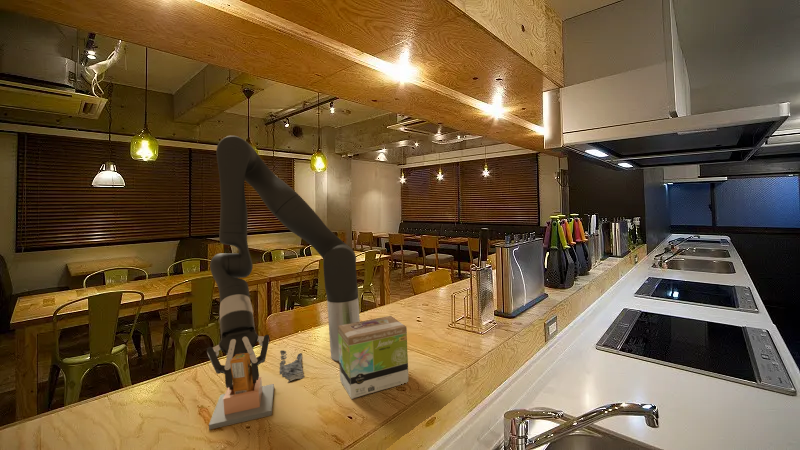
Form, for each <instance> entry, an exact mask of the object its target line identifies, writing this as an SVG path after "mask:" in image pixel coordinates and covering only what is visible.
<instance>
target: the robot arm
mask: <svg viewBox="0 0 800 450" xmlns="http://www.w3.org/2000/svg"><path fill="white" fill-rule="evenodd" d="M216 161H217V168H218V176H219V187H220V190H219V191H220V192H219V193H220V215H219V237H218V238H219V243H221V244H223V245H226V246H232V247H235V248H236V249H237V250H238V253H237V252H236V253H235V252H234V253H233V252H231V253H226V252H224V253H222V252H220V253H216V254H215V255H214V256H213V257H212V258H211V260H210V263H209V267H210V268H209V269H210V272H211V276H212V278H213V279H214V281H215V283H216V286H217V288H218V293H219V303H220V304H219V326H220V327H219V328H220V341H219V343H218V344H217V345H215V346H213V347H212V346H208V347H207V348H206V353H207V356H208V359H209V361H210V362H211V365H212V366H213V369H214V371H215V373H216V374H217V375H218V374H224V381H225V382H224V383H225V387H226V389H227V388H230V390H232V389H233V380H232V372H231V364H230V361H231V359H232V358H233V357H234V356H235V355H236V354H242V353H249V354H250V362H251V371H252V380H253V384H254V383H256V380H258V379H259V377H260V373H259V372H260V371H259V366H260V364H263V363H265V362H266V357H267V353H268V349H269V348H268V347H269V344H270V335H269V334H265V335H264V336H262V335H261V336H260V335H258V333H257V332H256V327H255V326H256V325H255V319H254V311H253V305H252V302H251V297H250V290H249V284H248V281H246V280H245V279H244V278H248V276H250V275H251V274H252V271H253V265H254V264H253V261H252V256H251V253H250V249H249V245H248V226H249V225H248V221H249V220H248V217H249V215H248V207H247V199H246V195H245V194H246V193H245V192H246V191H245V182H246V183H247V184H248V185H249V186H251V187H252V189H254V190H255V191H256V193H257V194H258V196H259V197H260V199H261V201H262V202H263V203H264V205H265V206H266V208H267V209H268V210H269V211H270V213H271V214H272V215H273V216H274V217H275V218H276V219H278V221H279V222H280V223H281V224H282V225H283V226H284V227H286V229H288V230H289V231H290V232H292V233H293V234H294V235H296V236H297V237H299V238H300V239H302V240H303V241H305V242H306V243H308V245H310V246H311V247H313V249H314V250H315V251H316V252H317V253H318V254H319V255H320V256H321V258H322V259H323V261H322V262H323V264H322V265H323V266H322V267H323V278H324V280H323V281H324V289H325V293H326V303H327V316H328V317H327V319H328V331H329V332H328V334H329V347H330V349H329V352H330V358H331V359H332V360H333V361H336V362H339V343H338V326H339V325H345V324H350V323H355V322H361V321H360V306H359V287H358V279H357V264H356V263H357V256H356V253H355V250H354V248H352V247H351V246H349V245H348V244H347V243H345V241H343V240H342V239H341V238H340V237H339V236H338V235H336V234H335V233H334V232H333V231H332V230H331V229H330V228H329V227H328V226H327V225H326V224H325V223H324V221H323V220H322V219H321V217H320V216H318V214H317V213H316V212H315V210H314V209H312V207H311V206H310V205H309V203H307V202H306V201H305V199H303V198H302V196H301V195H300V194H298V192H296V190H294V189H293V188H292V187H291V186H290V185H289V184H287V183H286V182H285V181H284V180H283V179H281V178H279V176H277V175H276V174H275V173H274V172H273V171H272V170H271V169H270V167H269V166H268V165H267V164H266V163H265V161H264V160H263V159H262V158H261V157H260V155H259V154H258V153H257V151H256V149H255V148H254V147H253V146H252V145H251V144H250V143H249V142H248V141H247V140H245V139H243V138H242V137H239V136H237V135H227V136H226V137H223V138H222V139H220V141H219V142H218V144H217V147H216ZM257 343H259V346H261V350H260V353H259V356H256V353H255V350H254V347H256V346H255V345H257ZM219 351H222V352H223V353H225V355H226V360H225V364H221V362H220V360H219V358H218V356H219V354H220V352H219Z"/></svg>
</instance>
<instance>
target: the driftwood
mask: <svg viewBox="0 0 800 450" xmlns="http://www.w3.org/2000/svg"><path fill="white" fill-rule="evenodd" d="M279 353H280V355H281V356H280V360H281V361H280V362H279V375H281V377H282V378H285V379H286V380H287V381H288V383H290V382H291V381H294V380H298V379H304V378H305V375H304V369H303V366H304V365H303V364H302V359H303V354H302V353H298V354H297V356H296V359H295V360H294V361H292V362H289V363H287V362H286V359H287V357H288V356H287V355H288V354H287V351H286V350H284V349H283V350H280V351H279ZM286 363H287V364H286Z"/></svg>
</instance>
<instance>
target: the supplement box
mask: <svg viewBox="0 0 800 450" xmlns="http://www.w3.org/2000/svg"><path fill="white" fill-rule="evenodd" d="M230 364H231V372H232V380H233V388H234V395H235V394H240V393H244V392H249V391H254V387H253V380H252V371H251V362H250V354H249V353H242V354H236V355H235V356H234V357H233V358H232V359H231V361H230Z"/></svg>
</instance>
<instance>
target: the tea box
mask: <svg viewBox="0 0 800 450" xmlns="http://www.w3.org/2000/svg"><path fill="white" fill-rule="evenodd" d="M407 328H408V327H407V325H405V324H404V323H402V322H401V321H399V320H398V319H396V318H395V317H393V316H392V315H389V316H388V315H387V316H383V317H378V318H372V319H367V320H361V321H360V322H355V323H350V324H345V325H339V326H338V343H339V361H338V362H339V364H338V365H339V379H340V380H339V381H340V382H341V384H342V386H343V387H344V389H345V390H346V393H347V394H348V396H349V397H350V399H351V400H354V399H357V398H359V397H362V396H366V395H368V394H372V393H377V392H380V391H382V390H387V389H390V388H394V387H397V386H401V384H402V385H405V384H404V383H406V384H408V383H409V358H408V357H409V355H408V334H407V331H408V330H407ZM407 382H408V383H407Z"/></svg>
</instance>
